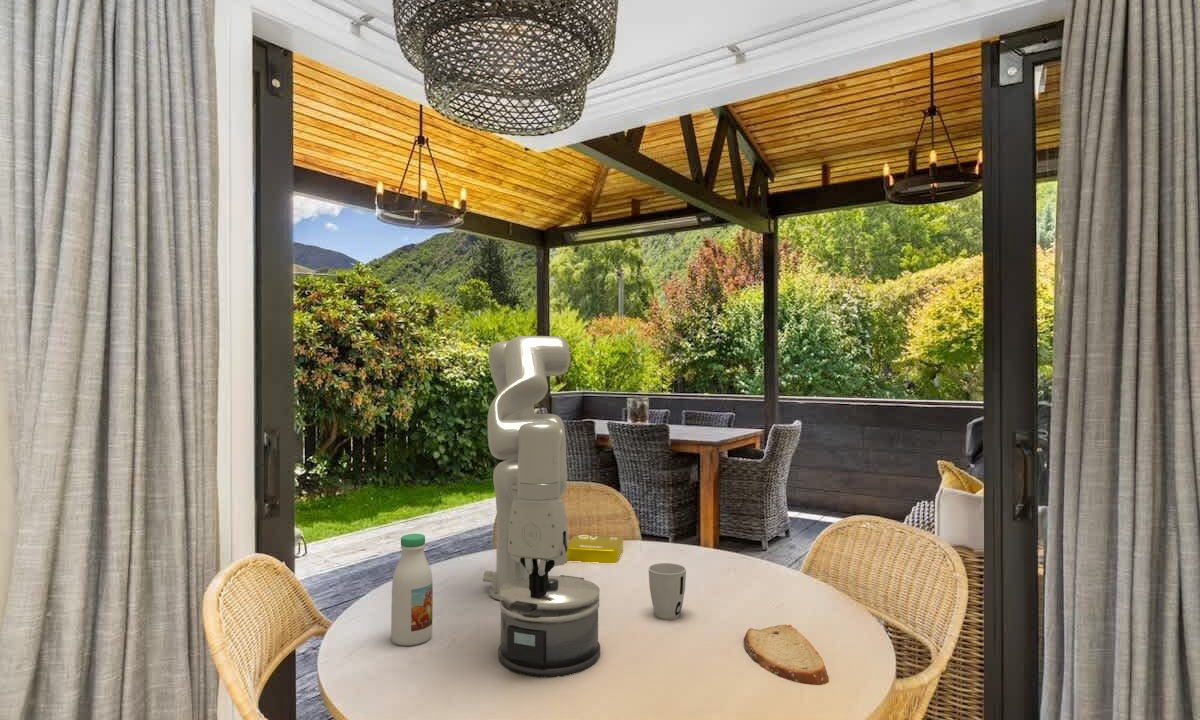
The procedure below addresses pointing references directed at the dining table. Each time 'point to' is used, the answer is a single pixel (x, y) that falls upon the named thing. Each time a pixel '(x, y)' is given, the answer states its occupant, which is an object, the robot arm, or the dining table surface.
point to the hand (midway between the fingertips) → (538, 595)
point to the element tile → (594, 549)
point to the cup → (667, 589)
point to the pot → (549, 640)
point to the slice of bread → (786, 654)
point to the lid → (550, 594)
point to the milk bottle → (412, 594)
